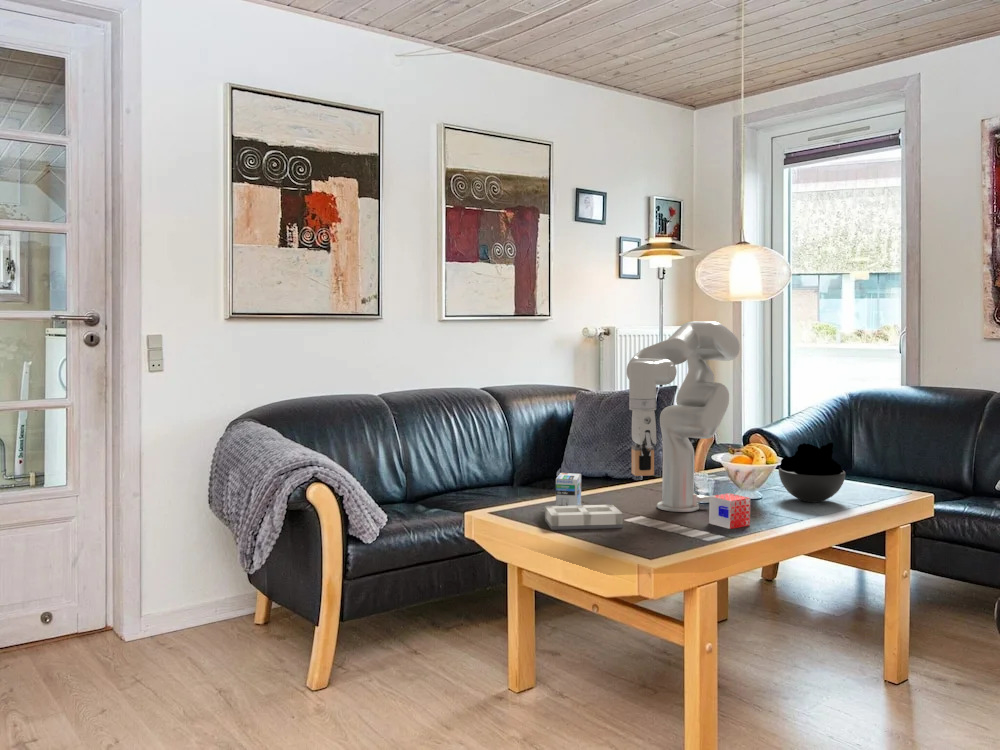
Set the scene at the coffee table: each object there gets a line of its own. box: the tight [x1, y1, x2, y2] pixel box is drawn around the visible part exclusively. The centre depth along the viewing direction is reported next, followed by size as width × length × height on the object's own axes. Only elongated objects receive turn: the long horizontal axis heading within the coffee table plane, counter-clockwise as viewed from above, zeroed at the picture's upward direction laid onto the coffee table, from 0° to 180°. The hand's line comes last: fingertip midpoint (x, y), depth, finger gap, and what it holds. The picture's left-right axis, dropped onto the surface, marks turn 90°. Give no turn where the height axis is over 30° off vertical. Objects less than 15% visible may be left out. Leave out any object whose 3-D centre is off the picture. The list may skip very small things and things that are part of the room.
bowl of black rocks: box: [778, 442, 846, 503], centre depth 276 cm, size 20×20×19 cm
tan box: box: [631, 444, 655, 477], centre depth 248 cm, size 6×4×8 cm
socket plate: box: [544, 504, 624, 531], centre depth 247 cm, size 20×12×4 cm, turn 96°
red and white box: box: [708, 492, 751, 530], centre depth 246 cm, size 8×8×8 cm
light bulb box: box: [555, 472, 582, 506], centre depth 264 cm, size 11×7×11 cm, turn 168°
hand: (642, 467), depth 248 cm, fingers closed on tan box, 4 cm apart
